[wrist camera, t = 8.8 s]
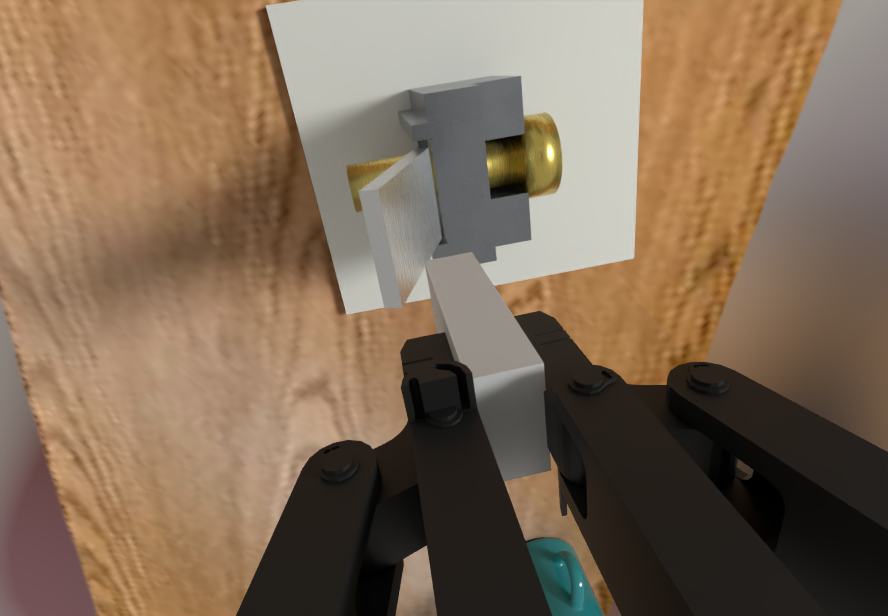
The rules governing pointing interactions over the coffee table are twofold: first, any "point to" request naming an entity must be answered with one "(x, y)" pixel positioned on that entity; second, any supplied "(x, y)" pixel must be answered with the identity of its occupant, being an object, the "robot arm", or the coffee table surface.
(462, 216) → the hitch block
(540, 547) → the cup
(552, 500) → the coffee table surface
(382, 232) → the grey flat brushed plate
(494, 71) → the mat
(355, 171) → the pin
